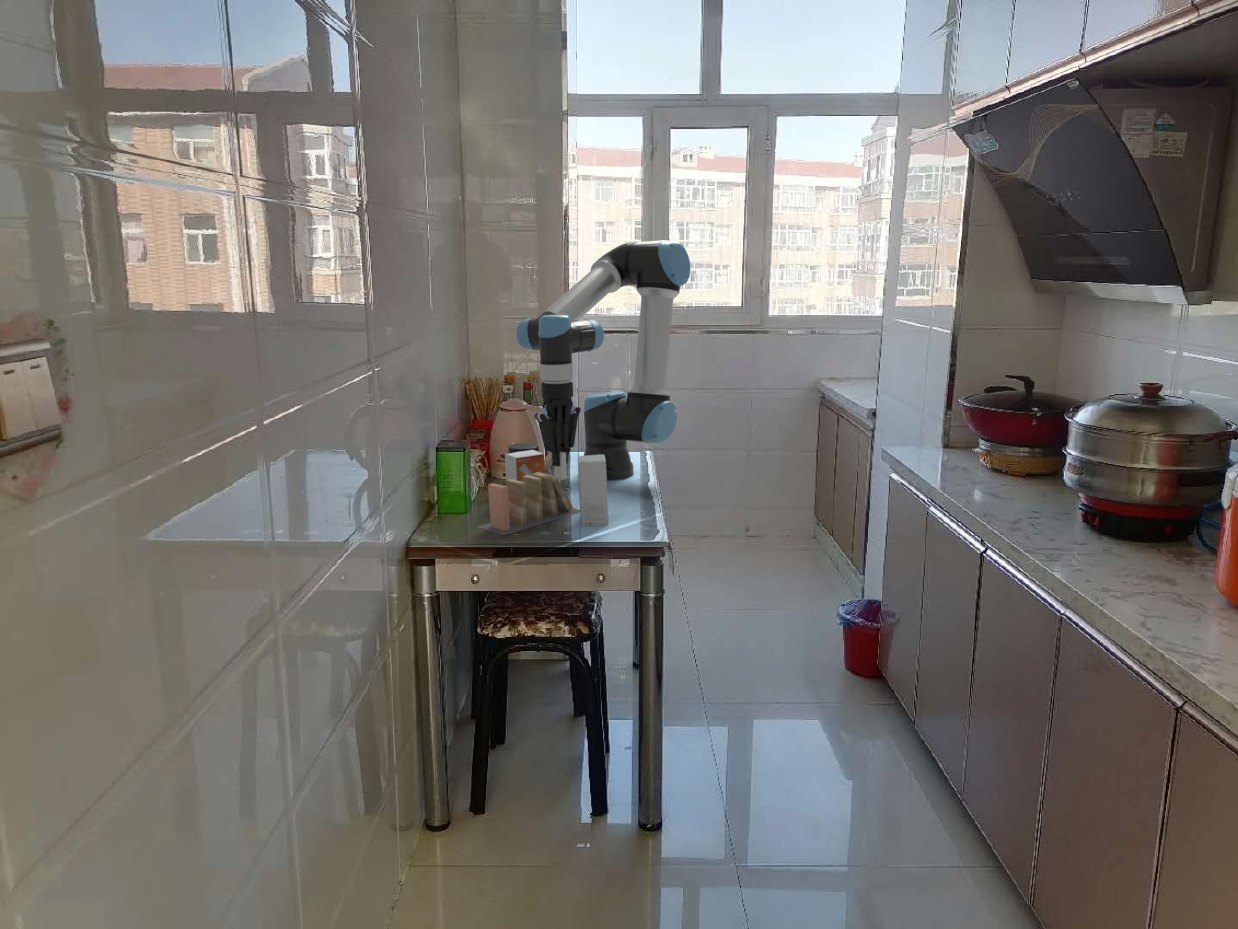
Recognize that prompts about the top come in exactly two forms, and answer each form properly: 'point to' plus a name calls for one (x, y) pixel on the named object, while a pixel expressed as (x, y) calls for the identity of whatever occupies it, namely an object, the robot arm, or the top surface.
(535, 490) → the domino
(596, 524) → the skincare box
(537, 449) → the jar
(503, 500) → the domino
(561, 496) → the domino
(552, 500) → the domino
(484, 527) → the mat
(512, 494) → the domino
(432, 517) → the top surface
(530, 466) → the small box
